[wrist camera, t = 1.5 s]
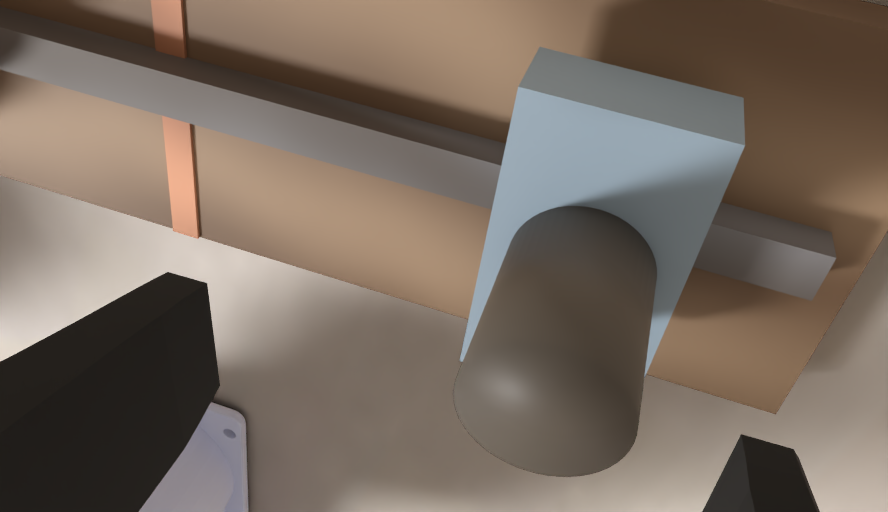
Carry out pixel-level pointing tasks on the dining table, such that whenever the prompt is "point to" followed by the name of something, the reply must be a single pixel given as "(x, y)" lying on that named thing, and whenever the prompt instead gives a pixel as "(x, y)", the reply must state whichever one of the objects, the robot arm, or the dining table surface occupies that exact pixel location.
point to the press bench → (459, 142)
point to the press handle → (588, 256)
